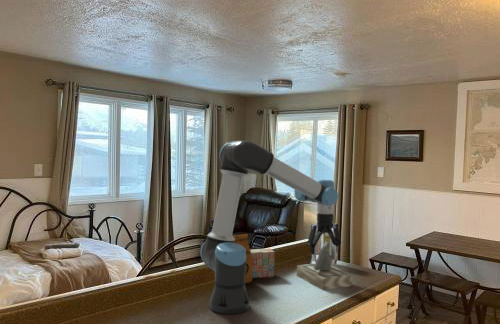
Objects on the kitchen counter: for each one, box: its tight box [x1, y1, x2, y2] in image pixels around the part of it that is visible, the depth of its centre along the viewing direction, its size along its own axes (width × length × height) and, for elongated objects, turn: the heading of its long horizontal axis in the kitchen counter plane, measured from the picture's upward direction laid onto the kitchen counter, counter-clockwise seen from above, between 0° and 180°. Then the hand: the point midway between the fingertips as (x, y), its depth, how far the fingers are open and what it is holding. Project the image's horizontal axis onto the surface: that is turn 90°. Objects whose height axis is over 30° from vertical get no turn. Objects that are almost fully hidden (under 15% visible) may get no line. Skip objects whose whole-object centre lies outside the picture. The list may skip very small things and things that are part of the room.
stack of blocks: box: [250, 248, 276, 279], centre depth 193 cm, size 21×6×12 cm, turn 107°
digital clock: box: [314, 242, 332, 270], centre depth 188 cm, size 16×9×11 cm, turn 152°
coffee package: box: [232, 233, 253, 284], centre depth 182 cm, size 10×12×22 cm
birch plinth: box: [296, 263, 353, 291], centre depth 189 cm, size 16×22×5 cm
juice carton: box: [320, 228, 339, 267], centre depth 216 cm, size 8×9×19 cm
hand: (323, 260), depth 189 cm, fingers closed on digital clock, 10 cm apart
